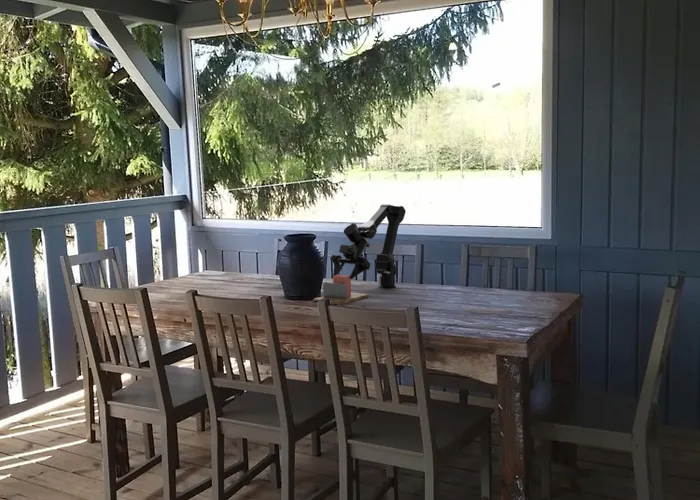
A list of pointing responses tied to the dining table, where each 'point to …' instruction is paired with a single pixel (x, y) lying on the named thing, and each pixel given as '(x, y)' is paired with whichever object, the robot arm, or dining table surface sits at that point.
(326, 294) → the bookend
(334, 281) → the salmon pink block
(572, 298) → the dining table surface
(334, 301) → the shelf board
